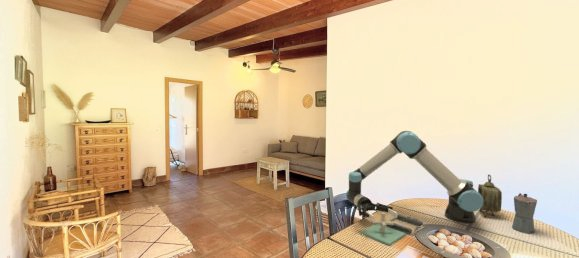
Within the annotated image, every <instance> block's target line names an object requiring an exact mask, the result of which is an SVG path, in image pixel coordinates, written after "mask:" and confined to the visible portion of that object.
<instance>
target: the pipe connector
mask: <svg viewBox="0 0 579 258" xmlns="http://www.w3.org/2000/svg"><path fill="white" fill-rule="evenodd" d="M394 223H395V222H394V221H388V220H386V212H381V215H380V219H379V220H378V219H377V220H375V219H374V221H372V224H373V225H375V224H381V233H385V228H386V225H394Z"/></svg>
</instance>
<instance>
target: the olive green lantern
mask: <svg viewBox="0 0 579 258" xmlns="http://www.w3.org/2000/svg"><path fill="white" fill-rule="evenodd" d="M477 192H479V193H480V194H481V196H482V198H483V206H482V207H481V208H480V209H479V211H480V212H482V211H485V212H484V213H485V214H483V218H487V217H488V216H487V214H488V213H489V212H490V216H495V213H498V212H501V211H502V203H503V201H502V200H503V198H502V197H503V196H502V195H503V193H502V191H501V189H500V188H499V187H498V186H496V185H495V184H494V182H492V175H491V174H487V181H486V182H485V183H484V184H478V188H477Z"/></svg>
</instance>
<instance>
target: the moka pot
mask: <svg viewBox="0 0 579 258" xmlns="http://www.w3.org/2000/svg"><path fill="white" fill-rule="evenodd" d="M537 204H538V200H537V199H535V198H533V197H531V196H528V194H527V193H523V194H522V193H518V195H515V196H514V197H513V206H514V213H515V214H514V218H513V222H512V226H511V227H512V228H513V230H515V231H517V232H520V233H523V234H529V235H530V234H531V235H532V234H534V233H535V231H536V230H535V223H534V222H535V221H534V215H535V211H536V207H537Z"/></svg>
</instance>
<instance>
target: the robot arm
mask: <svg viewBox="0 0 579 258" xmlns="http://www.w3.org/2000/svg"><path fill="white" fill-rule="evenodd" d="M402 153H404V154H405V155H406V156H407V157H408V158H409V159H410V160H411V159H412V160H415V161H416V162H417V163H418V164H419V165H420V166H421V167H422V168H423V169H424V170H426V172H428V173H429V174H430V175H431V176H432V178H434V179H435V180H436V181H437V182H438V183H439V184H440V185H441V186H443V188H444V189H446V190H447V193H446V194H447V195H448V204H447V206H446V208H445V210H444V217H445V218H447V219H449V220H450V221H454V222H457V223H463V224H472V223H475V222H476V216H475V212H476V211H480V208H481V207H482V206H483V198H482V196H481V194H480V193H479V192H478V190H476V189H475V188H474V183H473V180H469V179H468V180H467V179H462V178H461V179H459V177H458V176H457V175H455V174H454V173H453V172H452V171H451V170H450V169H449V168H448V167H447V166H446V165H444V163H442V162H441V160H439V159H438V158H437V157H436V156H435V155H434V154H433V153H431V152H430V151H429V150H428V148H427V144H426V143H425V142H424V141H423V140H421V139H420V138H419V136H418V135H417V133H414V132H412V131H410V130H403V131H401V132H399V133H398V134H396V136H395V137H393V138H392V139H391V140H390V141H389V144H388V145H386V147H384V148H383V149H381V150H380V151H379V152H378V153H376V154H375V155H374V156H372V157H371V158H370V159H368V160H367V161H366V162H365V163H364V164H362V165H361V166H359V167H358V168H357V169H355V170H353V171H351V172H349V173H348V190H347V191H346V193H345V198H346V199H347V200H348V201H349V202H350V203H351V204H353V205H355V206H356V210H357V211H358V216H359V217H363V218H366V219H367V218H368V220H369V221H372V222H373V221H374V220H375V216H374V215H373V214H372V213H371V212H370V211H375V212H378V211H379V212H382V213H387V214H388V215H390V216H391V217H393V218H394V217H395V218H397V215H398V212H397V211H395V210H394V209H393V207H392V206H389V205H387V204H383V203H379V202H376V203H373V202H372V200H371V199H370V198H368V197H366V196H365V195H363V194H362V182H363V181H364V180H365V179H366V178H367V177H369V176H370V175H371V174H372V173H374V172H375V171H376V170H378V169H379V168H380V167H382V166H383V165H384V164H386V163H387V162H388V161H390V160H391V159H392V158H394V157H395V156H397V155H398V154H402Z"/></svg>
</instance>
